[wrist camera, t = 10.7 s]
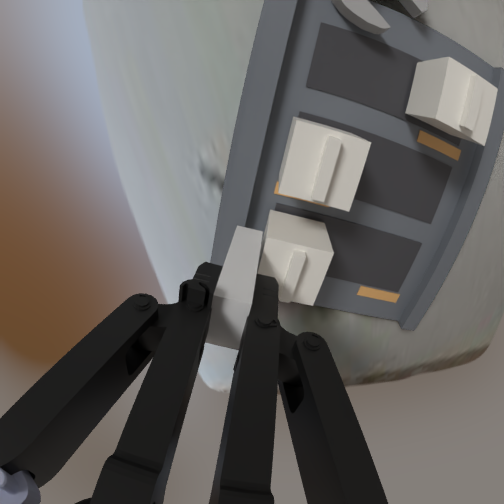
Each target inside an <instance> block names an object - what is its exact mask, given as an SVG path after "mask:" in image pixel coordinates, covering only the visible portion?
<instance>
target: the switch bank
mask: <svg viewBox="0 0 504 504" xmlns="http://www.w3.org/2000/svg"><path fill="white" fill-rule="evenodd" d="M368 1H369V2H370V4H371V5H372V6H373V7H374V8H375V9H376V10H377V11H378V13H379V14H380V15H381V16H382V17H383V18H384V20H385V21H386V22H387V23H388V24H389V26H390V27H391V28H389V29H388V30H387V31H385V32H384V33H382V34H373V33H370V32H368V31H365V30H363V29H361V28H359V27H358V26H356V25H355V24H353V23H352V22H350V21H349V20H348V19H346V18H345V17H344V16H343V15H342V14H341V13H340V12H339V11H338V9H337V8H336V7H335V6H334V4H333V3H332V1H331V0H264V4H263V8H262V12H261V16H260V19H259V23H258V27H257V31H256V36H255V40H254V44H253V48H252V52H251V56H250V61H249V65H248V69H247V74H246V78H245V83H244V87H243V92H242V96H241V101H240V105H239V110H238V115H237V120H236V124H235V129H234V134H233V139H232V144H231V149H230V154H229V160H228V165H227V170H226V175H225V181H224V186H223V192H222V197H221V203H220V208H219V214H218V220H217V226H216V232H215V238H214V244H213V250H212V256H211V262H210V263H212V264H216V265H220V266H223V265H224V262H225V259H226V256H227V253H228V251H229V248H230V245H231V242H232V239H233V236H234V233H235V230H236V228H237V225H238V226H242V227H246V228H250V229H254V230H259V231H263V234H262V240H263V236H264V232H265V228H266V224H267V220H268V216H269V212H270V210H274V211H278V212H282V213H286V214H291V215H295V216H299V217H303V218H307V219H311V220H315V221H319V222H322V223H325V226H326V229H327V232H328V235H329V239H330V242H331V245H332V249H333V252H334V254H333V257H332V260H331V262H330V265H329V267H328V270H327V272H326V275H325V277H324V280H323V282H322V285H321V287H320V290H319V292H318V295H317V297H316V299H315V302H314V304H313V305H316V306H321V307H326V308H331V309H336V310H341V311H347V312H352V313H357V314H363V315H368V316H373V317H379V318H385V319H390V320H396V321H398V322H399V324H400V327H401V329H406V330H413V331H414V330H415V329H416V327H417V325H418V324H419V322H420V321H421V319H422V318H423V316H424V314H425V313H426V311H427V310H428V308H429V306H430V305H431V303H432V301H433V300H434V298H435V296H436V295H437V293H438V291H439V289H440V288H441V286H442V284H443V282H444V280H445V279H446V277H447V275H448V273H449V271H450V269H451V267H452V265H453V263H454V261H455V260H456V258H457V256H458V253H459V251H460V249H461V247H462V245H463V243H464V241H465V239H466V237H467V234H468V232H469V230H470V228H471V225H472V223H473V221H474V218H475V216H476V214H477V211H478V209H479V206H480V204H481V201H482V198H483V196H484V193H485V190H486V188H487V185H488V182H489V179H490V176H491V173H492V170H493V167H494V164H495V160H496V157H497V154H498V150H499V147H500V143H501V139H502V135H503V131H504V69H503V68H501V67H500V68H493V67H492V66H491V65H489V64H488V63H487V62H485V61H484V60H482V59H481V58H480V57H478V56H477V55H475V54H474V53H472V52H471V51H469V50H468V49H466V48H464V47H463V46H461V45H460V44H458V43H456V42H455V41H453V40H452V39H450V38H448V37H446V36H445V35H443V34H441V33H439V32H438V31H436V30H434V29H432V28H430V27H428V26H426V25H424V24H422V23H420V22H418V21H416V20H414V19H412V18H410V17H408V16H406V15H404V14H402V13H399V12H397V11H395V10H392V9H390V8H388V7H385V6H383V5H380V4H378V3H375V2H372V1H370V0H368ZM444 57H451V58H452V59H454V60H456V61H457V62H459V63H461V64H462V65H464V66H465V67H467V68H469V69H470V70H472V71H473V72H475V73H476V74H478V75H479V76H481V77H482V78H483V79H485V80H486V81H488V82H489V83H490V84H492V85H493V86H495V87H496V88H497V89H498V91H497V96H496V101H495V106H494V111H493V115H492V120H491V124H490V128H489V132H488V136H487V139H486V143H485V146H483V145H480V144H477V143H474V142H471V141H468V140H465V139H462V138H459V137H456V136H453V135H450V134H448V133H446V132H444V131H442V130H440V129H438V128H436V127H434V126H432V125H430V124H428V123H426V122H423V121H421V120H419V119H417V118H415V117H412V116H410V115H408V114H406V113H405V112H406V108H407V105H408V101H409V97H410V93H411V88H412V84H413V80H414V75H415V71H416V66H417V63H418V62H422V61H427V60H433V59H438V58H444ZM293 117H297V118H301V119H305V120H309V121H313V122H316V123H320V124H323V125H327V126H330V127H333V128H337V129H340V130H343V131H346V132H349V133H352V134H355V135H357V136H359V137H361V138H363V139H365V140H367V141H369V142H371V145H370V149H369V152H368V155H367V158H366V162H365V165H364V168H363V171H362V174H361V178H360V181H359V184H358V187H357V190H356V193H355V196H354V199H353V202H352V205H351V208H350V210H349V212H348V211H345V210H341V209H338V208H334V207H330V206H327V205H323V204H319V203H315V202H312V201H308V200H304V199H300V198H296V197H292V196H288V195H284V194H280V193H278V188H279V172H280V168H281V164H282V160H283V156H284V152H285V148H286V144H287V140H288V136H289V132H290V127H291V123H292V119H293ZM261 244H262V241H261Z"/></svg>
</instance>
